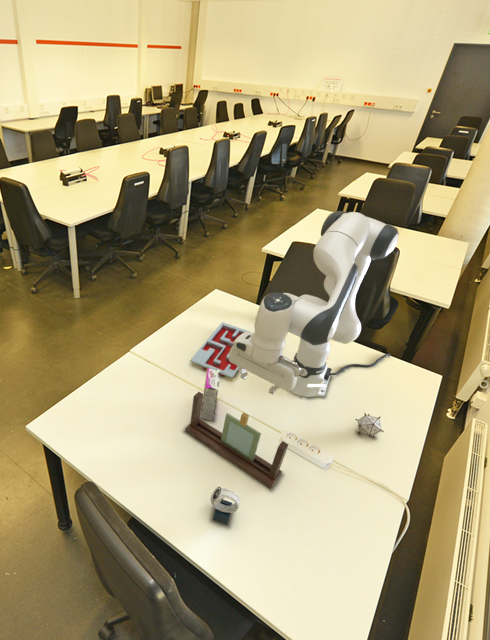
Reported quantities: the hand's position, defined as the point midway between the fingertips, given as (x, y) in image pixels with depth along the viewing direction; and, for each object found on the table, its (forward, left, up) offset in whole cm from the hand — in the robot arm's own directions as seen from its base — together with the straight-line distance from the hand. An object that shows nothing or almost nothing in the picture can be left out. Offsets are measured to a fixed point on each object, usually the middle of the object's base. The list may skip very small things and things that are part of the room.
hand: (257, 385), depth 116 cm
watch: (+23, +7, -32) cm, 40 cm away
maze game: (-44, -34, -32) cm, 63 cm away
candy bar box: (-9, -20, -32) cm, 38 cm away
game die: (-39, +29, -32) cm, 58 cm away
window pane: (+2, 0, -29) cm, 30 cm away
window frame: (+2, -3, -32) cm, 32 cm away
